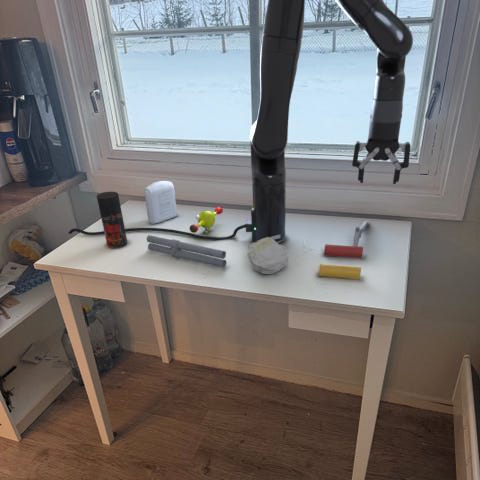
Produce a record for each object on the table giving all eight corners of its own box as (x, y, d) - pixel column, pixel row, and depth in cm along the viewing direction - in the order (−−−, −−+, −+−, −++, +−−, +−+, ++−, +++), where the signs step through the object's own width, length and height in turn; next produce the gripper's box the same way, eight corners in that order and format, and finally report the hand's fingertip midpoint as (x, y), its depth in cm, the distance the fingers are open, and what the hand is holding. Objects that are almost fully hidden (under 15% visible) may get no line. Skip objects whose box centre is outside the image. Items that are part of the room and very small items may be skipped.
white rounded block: (171, 213, 159) (166, 176, 152) (179, 216, 157) (175, 179, 150) (146, 222, 153) (140, 184, 147) (154, 225, 151) (148, 187, 144)
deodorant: (103, 245, 140) (92, 195, 131) (120, 238, 143) (110, 190, 135) (114, 250, 136) (104, 200, 128) (131, 243, 140) (122, 194, 131)
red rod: (323, 257, 126) (324, 247, 125) (325, 252, 129) (325, 242, 127) (361, 260, 124) (363, 249, 122) (362, 255, 126) (363, 245, 125)
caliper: (356, 251, 129) (358, 229, 125) (352, 250, 129) (354, 229, 126) (368, 223, 144) (370, 204, 141) (364, 223, 145) (366, 203, 141)
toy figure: (213, 220, 152) (211, 200, 148) (228, 222, 150) (227, 202, 146) (184, 242, 139) (181, 220, 135) (200, 244, 137) (198, 222, 133)
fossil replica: (294, 262, 125) (258, 261, 128) (293, 232, 121) (256, 232, 124) (283, 280, 115) (245, 279, 118) (281, 248, 111) (241, 247, 114)
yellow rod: (318, 278, 117) (319, 267, 115) (319, 272, 119) (320, 262, 118) (359, 281, 114) (360, 270, 113) (360, 276, 117) (361, 265, 115)
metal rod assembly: (227, 265, 125) (226, 248, 122) (222, 270, 123) (220, 252, 120) (152, 248, 136) (149, 232, 133) (146, 252, 134) (143, 235, 131)
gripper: (414, 115, 119) (404, 179, 128) (357, 115, 122) (351, 177, 131) (416, 121, 113) (405, 188, 122) (355, 121, 116) (350, 186, 125)
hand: (377, 182), depth 126 cm, fingers open, 8 cm apart
